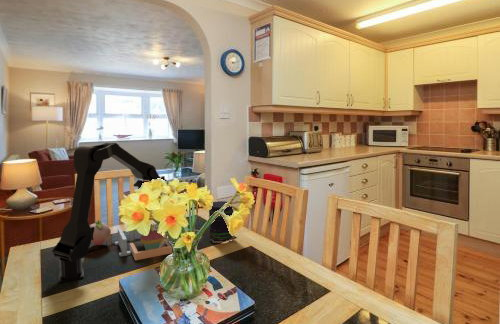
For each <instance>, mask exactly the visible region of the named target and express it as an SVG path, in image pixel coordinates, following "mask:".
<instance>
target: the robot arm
mask: <svg viewBox="0 0 500 324" xmlns="http://www.w3.org/2000/svg"><path fill="white" fill-rule="evenodd" d="M110 158H112V159H114V160H116V161H117V162H118V163H120V164H122V165H123V166H125V167H126V168H128V169H129V170H130V173H131V174H132V175H133V176H134V177H135V178H136V179H137V180H136V182H135V183H134V184H133V187H137V190H138V189H139V188H140V187H141V185H142V183H144V182H149V181H151V180H152V179H157V178H161V179H163V180H165V181H167V182H168V180H167V179H166V178H165V177H166V176H164V175H159V173H158V172H157V170H156V167H155V166H154V165H152V164H150V163H148V162H145V161H141V160H139V159H138V158H137V157H135V156H134V155H133V154H131V153H129V151H126V150H125V149H124V148H122V147H121V146H120V144H118V143H117V142H105V143H101V144H97V145H91V146H83V145H81V146H78V148H76V149H75V150H74V152H73V167H74V168H75V169H74V170H75V171H76V179H75V185H74V191H73V199H72V203H71V210H70V216H69V221H68V222H67V223H66V225H64V227H63V229H62V233H61V236H60V238H59V241H58V242H57V244H56V245H55V246H54V248H53V249H52V250H51V254H52V255H53V257H55V258H58V259H59V273H58V283H65V282H69V281H73V280H79V279H82V278H84V277H85V274H84V273H85V272H84V267H83V265H82V264H83V263H82V262H83V261H82V259H83V258H86V257H87V256H88V252H89V249H90V246H91V244H92V243H91V240H93V233H94V227H92V226H90V225H91V224H89V223H90V222H89V216H90V210H91V203H92V196H93V191H94V184H95V177H96V175H97V173H98V172H99V171H100V170H101V168H102V165H103V162H104V161H106V160H108V159H110Z"/></svg>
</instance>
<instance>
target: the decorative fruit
mask: <svg viewBox="0 0 500 324" xmlns="http://www.w3.org/2000/svg"><path fill="white" fill-rule="evenodd" d="M89 225H90V226H92V227H94V233H93V240H91V244H93V245H96V246H101V245H103V244H105V243H106V242H107V241H108V240H109V238H110V236H111V233H112V232H111V228H110V226H109V225H107V224H106V223H104V222H103V221H101V220H95V222H94V223H92V224H89Z"/></svg>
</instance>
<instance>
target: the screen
mask: <svg viewBox="0 0 500 324" xmlns="http://www.w3.org/2000/svg"><path fill="white" fill-rule="evenodd" d="M114 245H115V246H119V248H120V252H119V253H118V255H119V257H126V256H130V255H132V253H131V251H130V250H128V239H127V237H126V234H125V233H124V231H123V229H122V228H121V227H120V228H119V227H118V228H117V241H115V242H114Z"/></svg>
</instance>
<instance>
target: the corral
mask: <svg viewBox="0 0 500 324" xmlns="http://www.w3.org/2000/svg"><path fill="white" fill-rule="evenodd" d="M164 240H165V241H164V242H165V245H166V246H163V247H159V248H156V249H150V250H146V249H145V250H141V251H138V249H137V247H136V245H135V244H134V243H133V242H130V243H129V251H130V252H131V255H132V257H133V258H134V261H139V260H144V259H148V258H155V257H159V256H164V255H168V254H169V255H171V254H173V253H172V247H171V246H170V244H169V243H168V241H167V240H166V239H165V238H164Z"/></svg>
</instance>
